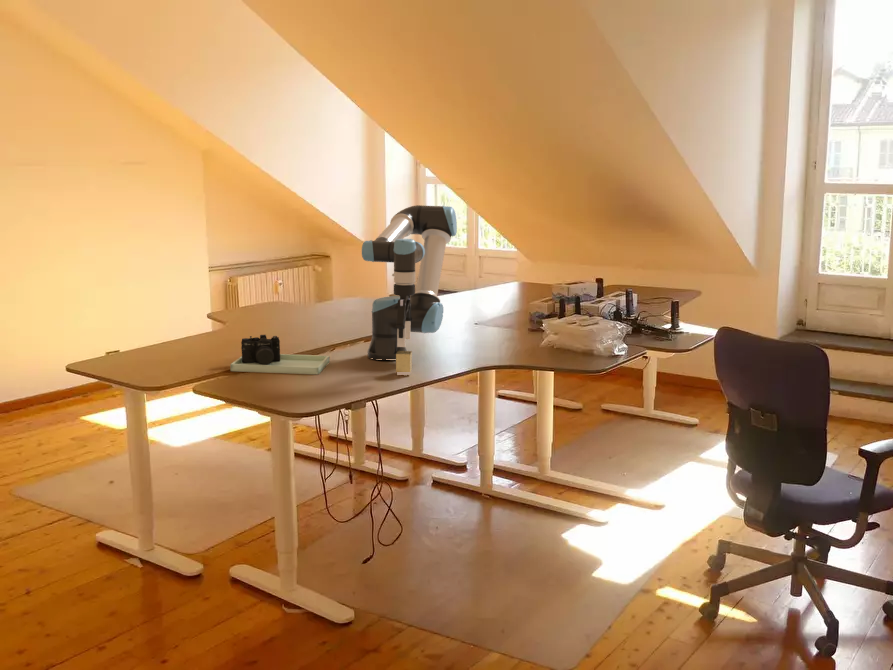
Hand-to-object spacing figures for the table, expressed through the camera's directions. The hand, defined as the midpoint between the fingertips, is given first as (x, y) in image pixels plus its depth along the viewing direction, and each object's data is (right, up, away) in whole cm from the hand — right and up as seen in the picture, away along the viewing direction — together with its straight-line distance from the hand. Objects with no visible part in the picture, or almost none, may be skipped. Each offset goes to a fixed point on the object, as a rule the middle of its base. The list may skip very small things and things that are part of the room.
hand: (403, 342), depth 313 cm
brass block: (0, -11, +3) cm, 12 cm away
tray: (-46, -9, +11) cm, 48 cm away
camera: (-53, -8, +11) cm, 55 cm away
